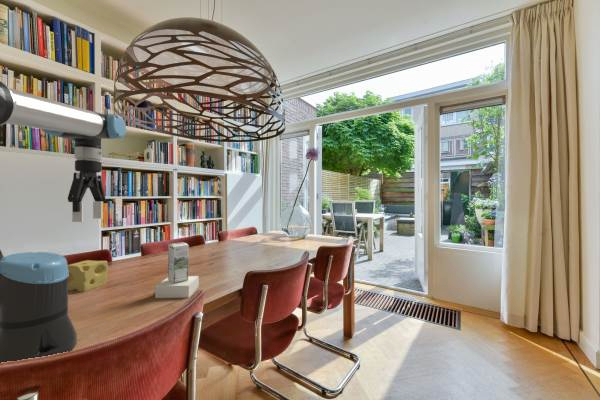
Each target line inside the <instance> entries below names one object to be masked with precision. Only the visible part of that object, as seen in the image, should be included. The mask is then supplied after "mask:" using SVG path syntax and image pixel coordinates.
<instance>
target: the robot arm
mask: <svg viewBox="0 0 600 400" xmlns="http://www.w3.org/2000/svg"><path fill="white" fill-rule="evenodd" d="M5 124H8V125H14V126H21V127H28V128H35V129H40V130H41V132H43V133H46V134H48V135H50V136H52V137H56V138H62V139H66V140H69V141H70V140H71V141H74V159H75V161H74V170H75V172H73V177H72V182H71V186H70V189H69V192H68V195H67V201H68V202H69V203H72V204H71V205H72V206H71V207H72V208H71V211H72V216H71V217H72V222H71V223H83V222H84V202H83V198H84V197H85V194H86V193H87V190H88V189H89V191H90V192H91V194H92V197H93V200H94V201H92V206H93V207H92V212H93V213H92V218H93V219H103V202H106V195H105V194H106V193H105V191H104V186H103V181H102V175H98V174H97V173H101V172H102V167H103V166H102V162H101V161H102V155H103V154H104V153H103V151H102V139H107V140H110V139H111V140H114V139H122V138H124V137H125V135H126V134H127V124H126V121H125V120H124V119H123V117H122V116H121V115H118V114H112V113H107V114H105V113H101V112H97V111H92V110H89V109H85V108H82V107H77V106H74V105H72V104H67V103H63V102H61V101H56V100H53V99H50V98H46V97H43V96H39V95H36V94H32V93H29V92H25V91H22V90H18V89H15V88H11V87H9V86H8V85H7V84H6V83H5V82H3V81H1V80H0V126H2V125H5ZM67 265H68V261H67V258H66V257H65V256H63V255H61V254H59V253H54V252H46V251H38V252H33V251H27V252H20V253H18V252H17V253H13V254H8V255H4V254H3V252H2V250H1V249H0V363H1V362H7V361H17V360H22V359H28V358H35V357H42V356H48V355H53V354H57V353H63V352H67V351H69V352H71V351H72V350H73V349H74V348H75V347H76V346H77V343H78V339H77V337H78V333H77V331H76V329H75V327H74V324H73V322H72V320H71V318H70V315H69V311H68V309H69V308H68V306H69V290H68V275H69V271H68V266H67Z"/></svg>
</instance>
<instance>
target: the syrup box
mask: <svg viewBox="0 0 600 400" xmlns="http://www.w3.org/2000/svg"><path fill="white" fill-rule="evenodd" d="M189 248H190V245H189V244H188V243H186V242H184V241H182V242H175V243H168V252H167V253H168V256H167V257H168V268H167V273H168V274H167V277H168V280H169V281H171V282H172V283H178V282H182V281H187V280H188V276H189V260H190V259H189V255H190V252H189V251H190V250H189Z"/></svg>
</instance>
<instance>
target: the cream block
mask: <svg viewBox="0 0 600 400" xmlns="http://www.w3.org/2000/svg"><path fill="white" fill-rule="evenodd" d="M199 281H200V277H199V275H191V276H190V275H188V280H187V281H182V282H178V283H172V282H171V281H169V280H168V276H167V277H166V278H165V279H163V280H162V281H160V282H159V283H158V284H156V285H155V290H154V291H155V292H154V293H155V295H154V297H155V299H175V298H176V299H179V298H180V299H181V298H182V299H183V298H187V299H188V298H190V297H191V296H192V295H193V294H194V293H195V291H196V290H197V289H198V288H199V286H200V285H199V284H200V283H199Z"/></svg>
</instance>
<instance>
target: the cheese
mask: <svg viewBox="0 0 600 400" xmlns="http://www.w3.org/2000/svg"><path fill="white" fill-rule="evenodd" d="M108 263H109V262H108V261H107V260H90V259H87V260H82V261H78V262H74V263H70V264H67V266H68V271H69V275H68V291H77V292H82V293H85V292H89V291H91V290H93V289H97V288H99V287H102V286H106V284H107V280H108V274H109V265H108Z"/></svg>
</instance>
